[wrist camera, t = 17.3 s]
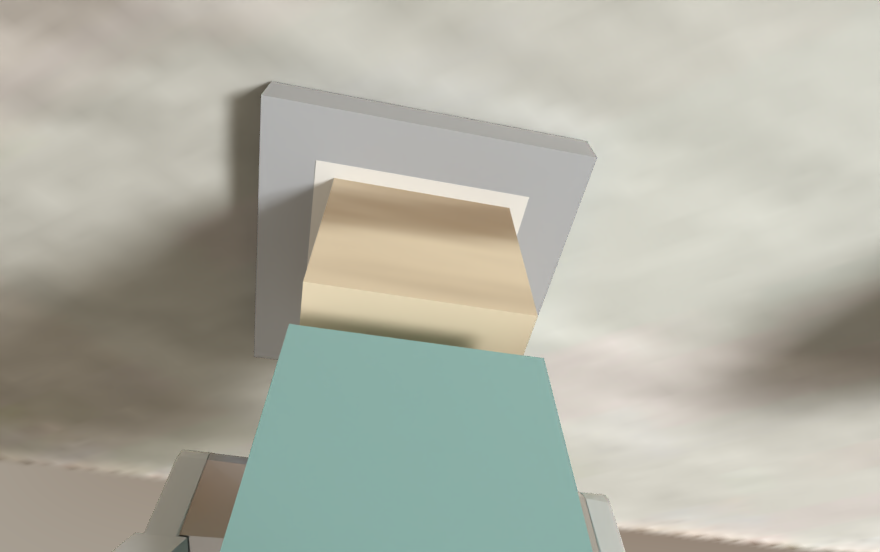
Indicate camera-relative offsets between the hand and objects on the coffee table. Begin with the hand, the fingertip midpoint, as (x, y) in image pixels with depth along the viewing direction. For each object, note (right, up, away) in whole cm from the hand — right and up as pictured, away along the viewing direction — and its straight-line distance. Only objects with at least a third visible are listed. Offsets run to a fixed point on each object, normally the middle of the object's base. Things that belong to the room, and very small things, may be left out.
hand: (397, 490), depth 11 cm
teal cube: (0, +1, +1) cm, 2 cm away
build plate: (0, +5, +7) cm, 9 cm away
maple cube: (0, +4, +6) cm, 8 cm away
